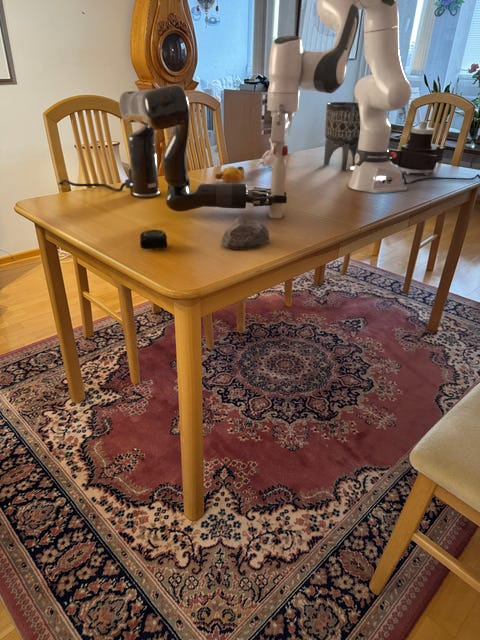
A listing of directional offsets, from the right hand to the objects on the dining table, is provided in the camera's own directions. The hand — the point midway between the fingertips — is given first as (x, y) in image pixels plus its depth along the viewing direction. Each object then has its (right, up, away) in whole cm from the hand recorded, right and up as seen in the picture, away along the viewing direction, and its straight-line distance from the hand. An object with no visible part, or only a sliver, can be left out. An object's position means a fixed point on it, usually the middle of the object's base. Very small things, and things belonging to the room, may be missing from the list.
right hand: (279, 155), depth 134 cm
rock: (-10, -29, -13) cm, 33 cm away
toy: (-15, +7, +48) cm, 51 cm away
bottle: (0, -16, +9) cm, 19 cm away
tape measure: (-34, -30, -17) cm, 48 cm away
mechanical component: (+70, +19, +73) cm, 103 cm away
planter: (+35, +22, +76) cm, 87 cm away
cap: (0, +2, -1) cm, 2 cm away
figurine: (+2, +21, +72) cm, 75 cm away
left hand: (+2, -11, +6) cm, 13 cm away
